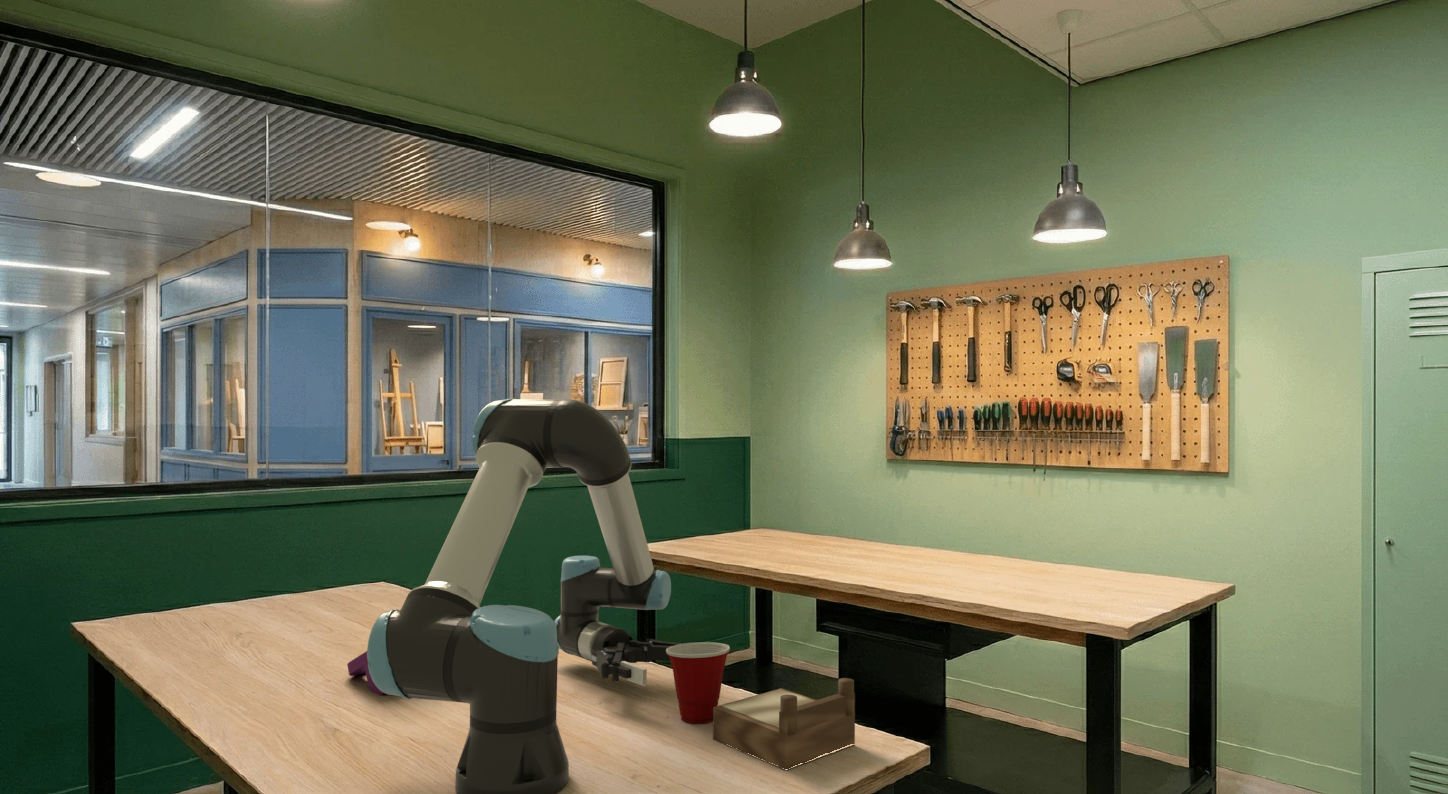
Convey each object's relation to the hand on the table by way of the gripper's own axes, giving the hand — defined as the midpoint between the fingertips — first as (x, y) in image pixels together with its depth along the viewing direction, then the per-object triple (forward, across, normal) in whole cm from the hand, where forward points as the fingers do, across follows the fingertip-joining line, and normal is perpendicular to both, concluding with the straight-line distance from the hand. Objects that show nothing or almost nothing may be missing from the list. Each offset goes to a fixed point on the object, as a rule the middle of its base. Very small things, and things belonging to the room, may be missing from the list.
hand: (676, 670), depth 154 cm
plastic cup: (+6, +1, -7) cm, 9 cm away
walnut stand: (+24, -2, -6) cm, 24 cm away
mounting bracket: (-47, +32, -7) cm, 58 cm away
